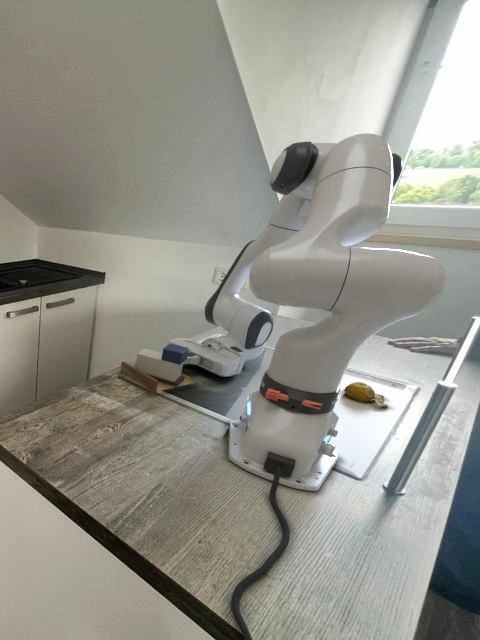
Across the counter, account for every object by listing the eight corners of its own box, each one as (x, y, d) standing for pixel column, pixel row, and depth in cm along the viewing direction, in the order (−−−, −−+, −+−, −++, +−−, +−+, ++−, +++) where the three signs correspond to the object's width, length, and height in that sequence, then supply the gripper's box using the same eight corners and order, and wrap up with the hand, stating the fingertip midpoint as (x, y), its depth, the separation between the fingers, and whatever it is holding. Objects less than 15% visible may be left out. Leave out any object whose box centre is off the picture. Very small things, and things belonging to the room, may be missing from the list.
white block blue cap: (184, 379, 103) (191, 348, 100) (176, 387, 100) (183, 354, 96) (140, 367, 111) (146, 337, 107) (132, 373, 107) (137, 342, 103)
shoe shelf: (162, 366, 114) (164, 353, 112) (198, 385, 103) (201, 371, 101) (119, 375, 108) (121, 361, 107) (152, 396, 97) (155, 381, 96)
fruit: (389, 410, 92) (395, 396, 90) (344, 400, 96) (349, 387, 94) (382, 396, 98) (388, 383, 96) (340, 387, 102) (345, 375, 101)
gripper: (189, 330, 118) (154, 336, 113) (251, 354, 101) (213, 362, 96) (185, 350, 121) (150, 356, 116) (245, 376, 103) (207, 385, 99)
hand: (179, 359), depth 106 cm, fingers closed
